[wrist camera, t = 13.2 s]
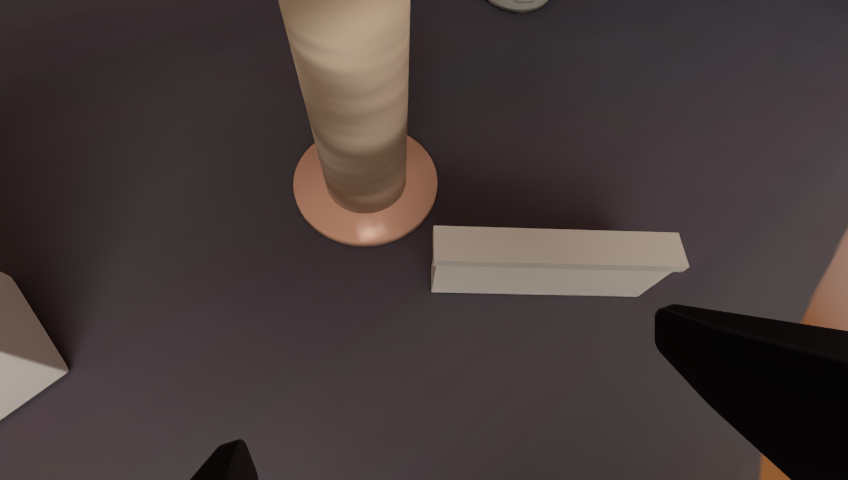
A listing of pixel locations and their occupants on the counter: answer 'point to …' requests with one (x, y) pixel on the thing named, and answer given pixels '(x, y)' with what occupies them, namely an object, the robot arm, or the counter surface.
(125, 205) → the counter surface
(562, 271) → the off-white long flat block
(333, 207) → the terracotta coaster
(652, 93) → the counter surface
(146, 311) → the counter surface
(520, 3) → the spray can
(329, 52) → the ash post
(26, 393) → the milk carton
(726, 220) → the counter surface
